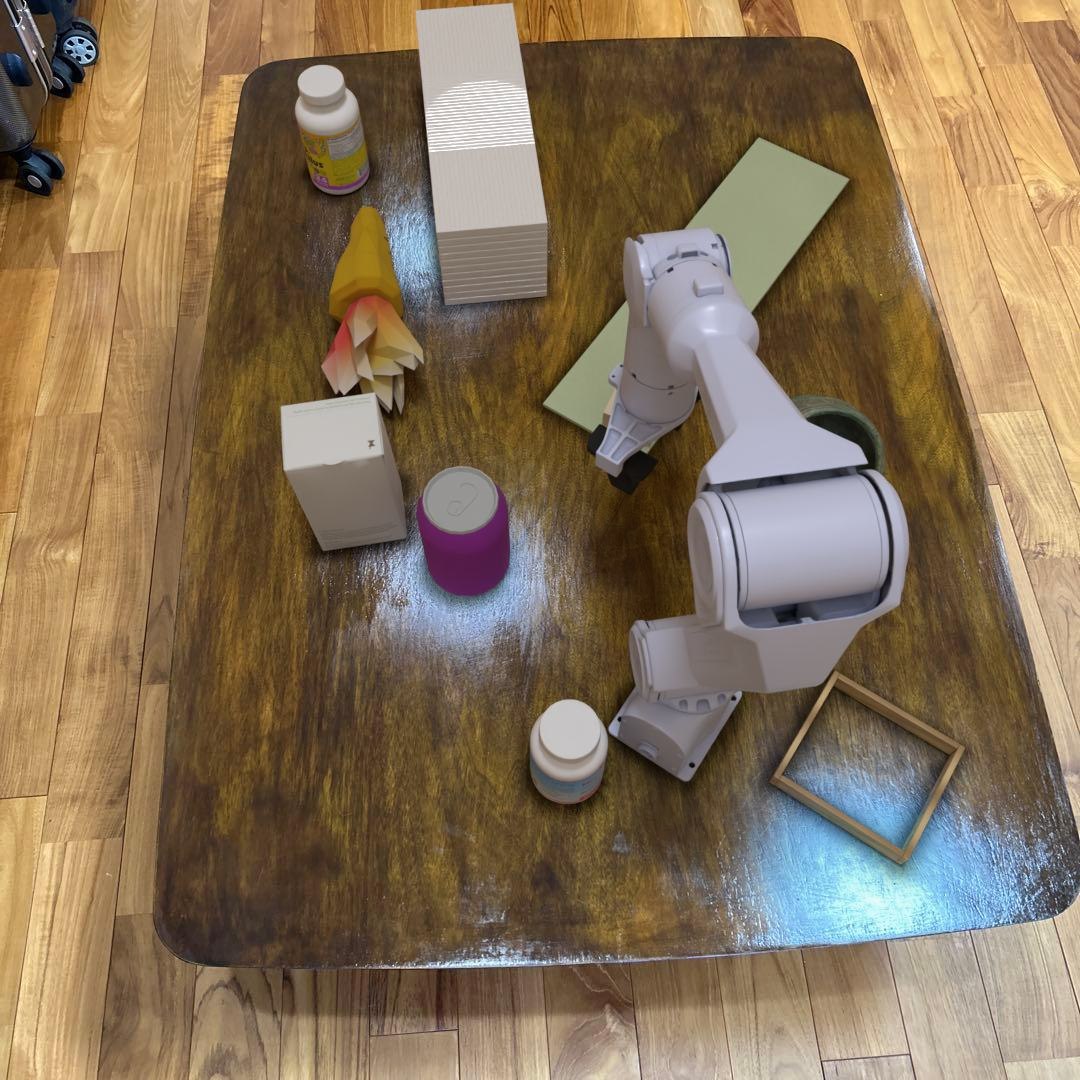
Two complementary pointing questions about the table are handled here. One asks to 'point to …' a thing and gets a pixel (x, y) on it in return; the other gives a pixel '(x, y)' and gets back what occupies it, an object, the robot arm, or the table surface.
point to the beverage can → (464, 531)
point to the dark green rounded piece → (845, 426)
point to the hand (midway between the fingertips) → (646, 454)
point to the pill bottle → (568, 752)
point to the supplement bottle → (331, 131)
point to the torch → (369, 317)
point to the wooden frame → (904, 721)
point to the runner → (755, 248)
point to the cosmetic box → (343, 471)
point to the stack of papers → (482, 155)
